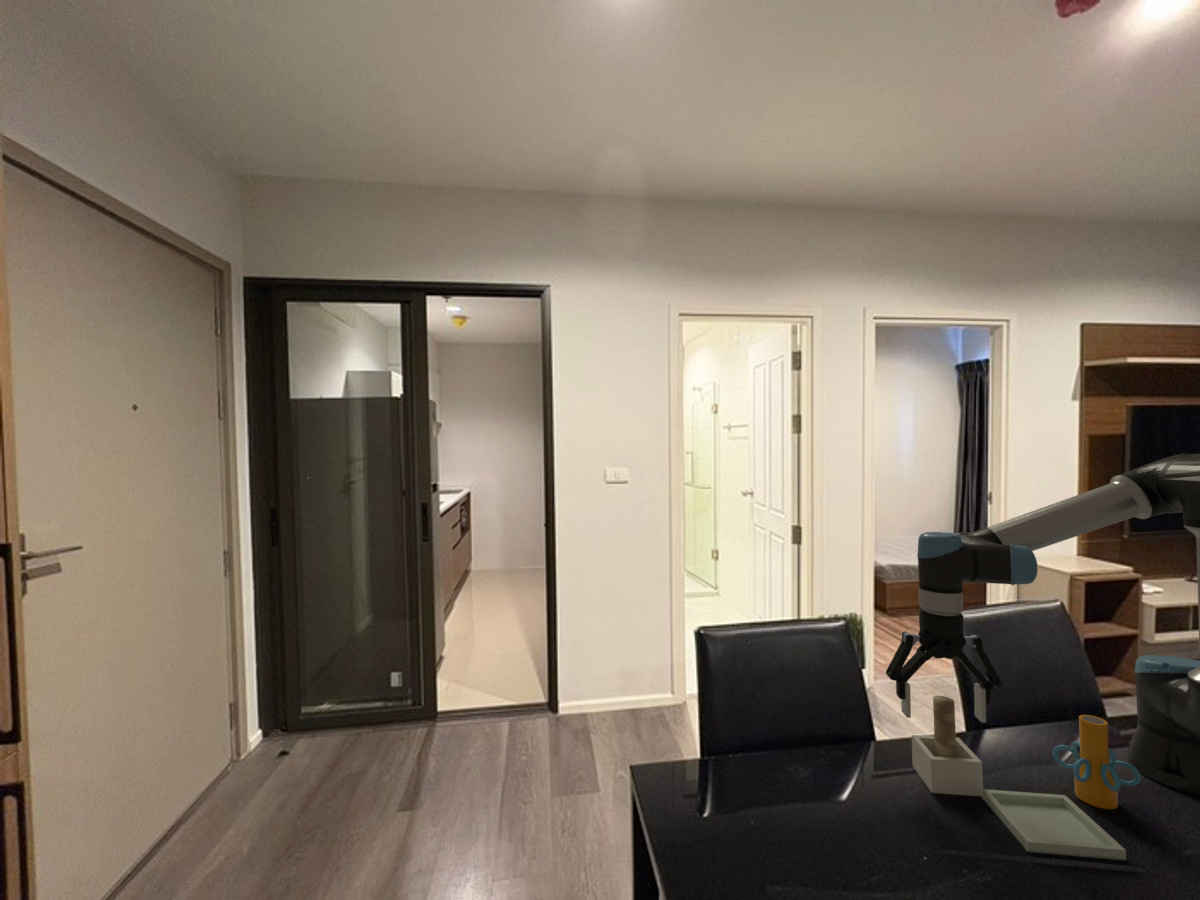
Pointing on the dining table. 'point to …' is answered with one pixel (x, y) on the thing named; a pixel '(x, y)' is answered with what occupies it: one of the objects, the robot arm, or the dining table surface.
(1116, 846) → the tray
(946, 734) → the dowel
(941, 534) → the robot arm
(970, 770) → the hollow square block
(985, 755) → the dining table surface
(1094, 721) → the tube with teal loops
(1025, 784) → the dining table surface
